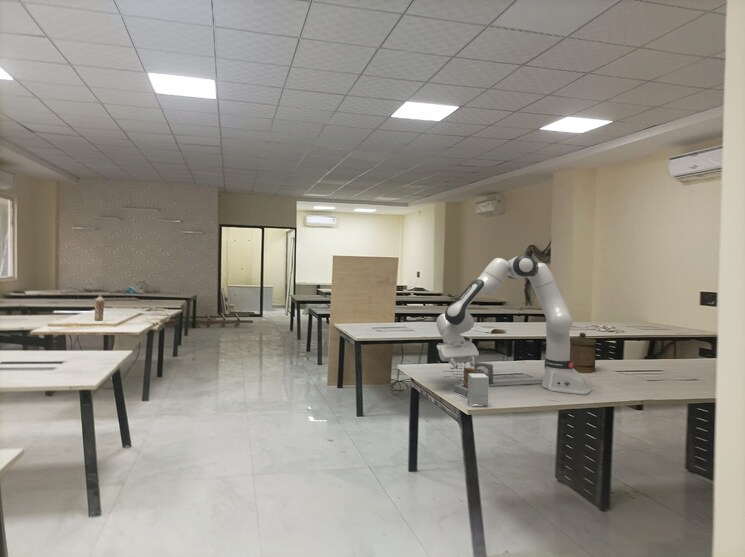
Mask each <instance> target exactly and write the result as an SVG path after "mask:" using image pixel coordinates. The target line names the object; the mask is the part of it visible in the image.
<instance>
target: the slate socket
mask: <svg viewBox="0 0 745 557" xmlns="http://www.w3.org/2000/svg"><path fill="white" fill-rule="evenodd" d="M454 392H456V393H458V394H461V395H463V396H465V397H468V389H467V388H465V387H464V383H461V384H460V383H459V384H453V393H454ZM456 393H455V394H456ZM458 394H457V395H458ZM463 396H462V397H463ZM465 397H464V398H465Z"/></svg>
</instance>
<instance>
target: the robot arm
mask: <svg viewBox="0 0 745 557" xmlns="http://www.w3.org/2000/svg"><path fill="white" fill-rule="evenodd" d="M507 278H509V279H512V280H519V279H524V278H526V279H528V280H529V281H530V282H529V283H531V286H532V288H533V291H534V293H535V297H536V298H537V300H538V304H539V306H540V308H541V310H542V312H543V314H544V316H545V321H546V322H545V323H546V324H545V326H546V327H545V328H546V330H545V331H546V332H545V334H546V338H545V340H546V346H545V347H546V348H545V349H546V350H545V358H544V375H543V379H542V382H541V387H542V388H544V389H547V390H549V391H551V392H558V393H567V394H575V395H582V396H583V395H589V394H590V393H591V388H590V387H589V386H587V385H586V378H585V377H584V376H583V375H582V374H581V372H577V371H576V370H575V369H574V362H572V361H571V360H570V338H571V337H570V330H571V329H572V327H573V326H574V325H573V324H574V323H573V322H574V321H573V317H572V315H571V312H570V311H569V309H568V307H567V306H568V305H566V304H567V303H566V302H565V299H564V298H563V296H562V293H561V292H560V289H559V286H558V283H556V280H555V277H554V275H553V273H552V271H551V270H550V268H549V267H548V265H547V264H546V263H543V262H537V261H536V260H535V259H533V258H532V257H531V256H529V255H526V254H521V255H517V256H515V257H513V258H511V259H509V260H506V259H504V258H502V257H496V258H494V259H492V261H490V262H489V263H488V265H486V267H485V269H484V270H483V271H482V272H481V274H480V275H479V276H478V277H477V279H474V280H473V281H472V282H470V284H469V285H468V286H467V287H466V288H465V289H464V291H463V292H461V294H460V295H459V296H458V297H457V299H455V301H453V302H452V303H450V304H449V305H448V306H447V307H446V309H445V311H444V313H441V314H440V315H439V316H437V318H436V327H437V330H438V332H439V334H440V336H441V338H442V342H441V343H440V342H439V343H438V344H436V348H437V351H438V355H439V359H440V360H441V361H442V362H449V363H448V364H450V365H452V368H454V369H456V368H458V367H459V366H458V365H459V364H458V362H456V363H455V361H463V360H468V361H470V363H469V366H470V368H474V366H475V363H474V362H475V359H478V357H479V354H480V353H479V350H478V348H477V347H476V345H475V344H474V343H473V342H472V341H473V339H472V338H471V337H468V336H464V335H461V334H464V333H466V332H469V331H471V330H472V328H473V327H474V324H475V320H474V319H475V318H474V317H473V316H472V314H470V312H468V311H467V309H468V307H469V306H470V305H471V303H472V302H473V301H474V300H475V299H476V297H477V296H479V295H487V296H488V295H489V296H490V295H493V294H495V293H497V291H498V290H499V289H500V287H501V286H502V285H503V283H504V281H505V280H506V279H507Z"/></svg>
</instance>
